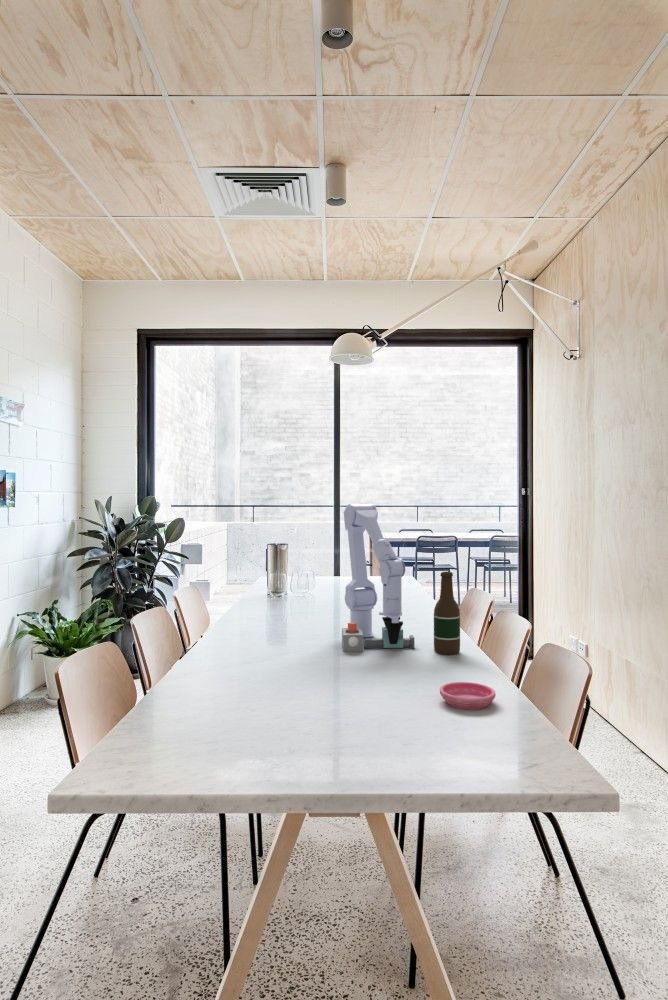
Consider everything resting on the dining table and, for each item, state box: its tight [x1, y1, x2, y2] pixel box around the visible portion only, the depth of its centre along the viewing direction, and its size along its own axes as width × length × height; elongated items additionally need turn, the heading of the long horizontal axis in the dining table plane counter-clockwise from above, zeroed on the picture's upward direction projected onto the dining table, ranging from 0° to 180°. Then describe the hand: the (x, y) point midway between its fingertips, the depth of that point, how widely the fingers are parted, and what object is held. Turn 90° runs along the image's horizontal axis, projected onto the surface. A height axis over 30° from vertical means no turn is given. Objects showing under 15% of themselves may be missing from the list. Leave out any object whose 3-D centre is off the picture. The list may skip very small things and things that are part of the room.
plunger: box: [347, 622, 357, 633], centre depth 197 cm, size 3×3×4 cm
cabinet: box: [341, 627, 364, 653], centre depth 197 cm, size 10×6×5 cm, turn 2°
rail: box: [364, 634, 415, 649], centre depth 198 cm, size 4×15×3 cm, turn 92°
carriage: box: [381, 626, 404, 649], centre depth 198 cm, size 4×6×5 cm
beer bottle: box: [433, 571, 461, 656], centre depth 191 cm, size 8×8×24 cm
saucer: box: [439, 681, 496, 710], centre depth 145 cm, size 12×12×3 cm
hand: (392, 641), depth 198 cm, fingers closed on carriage, 4 cm apart
